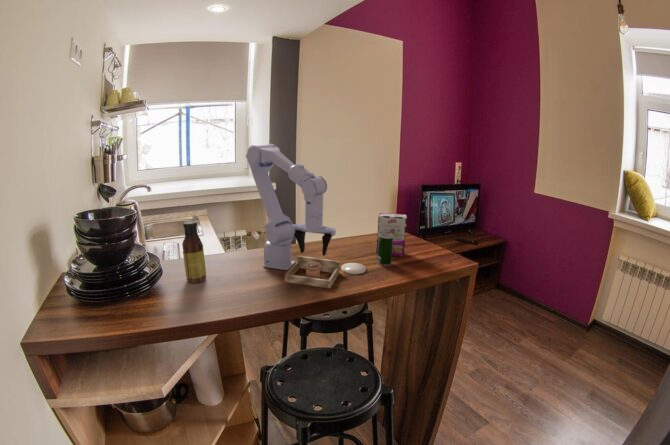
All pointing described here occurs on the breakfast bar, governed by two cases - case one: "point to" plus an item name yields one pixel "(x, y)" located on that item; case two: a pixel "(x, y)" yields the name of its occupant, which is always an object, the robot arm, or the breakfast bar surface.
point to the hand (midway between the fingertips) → (313, 253)
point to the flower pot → (313, 270)
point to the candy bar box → (393, 231)
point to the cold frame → (326, 266)
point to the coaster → (353, 268)
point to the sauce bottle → (193, 254)
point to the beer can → (385, 248)
